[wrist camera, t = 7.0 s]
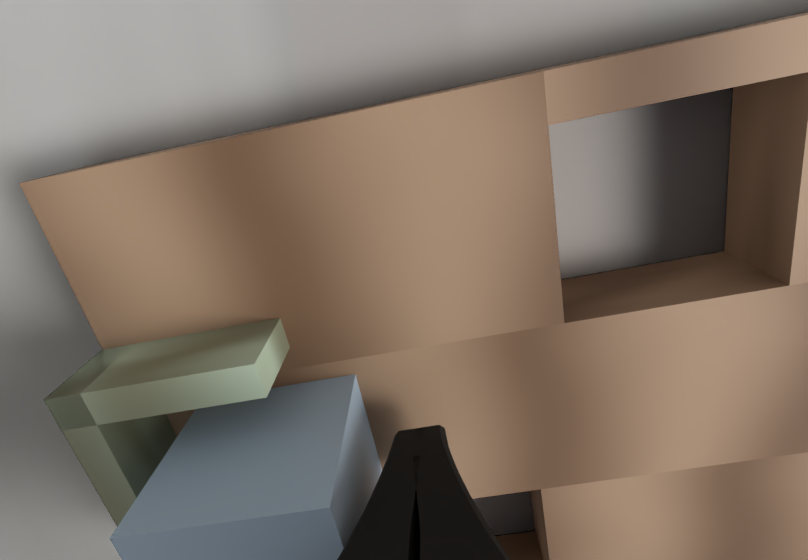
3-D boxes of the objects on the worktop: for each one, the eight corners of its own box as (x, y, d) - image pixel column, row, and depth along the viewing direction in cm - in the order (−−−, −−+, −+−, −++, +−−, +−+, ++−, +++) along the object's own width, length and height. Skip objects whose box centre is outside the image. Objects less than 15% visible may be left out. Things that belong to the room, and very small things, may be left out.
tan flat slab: (1023, -35, 10) (1418, -113, 6) (891, 505, 16) (1051, 645, 12) (89, 165, 12) (-70, 205, 8) (274, 584, 18) (234, 728, 14)
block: (355, 374, 12) (329, 507, 8) (389, 494, 13) (380, 654, 10) (201, 399, 12) (109, 538, 8) (251, 514, 14) (191, 675, 10)
